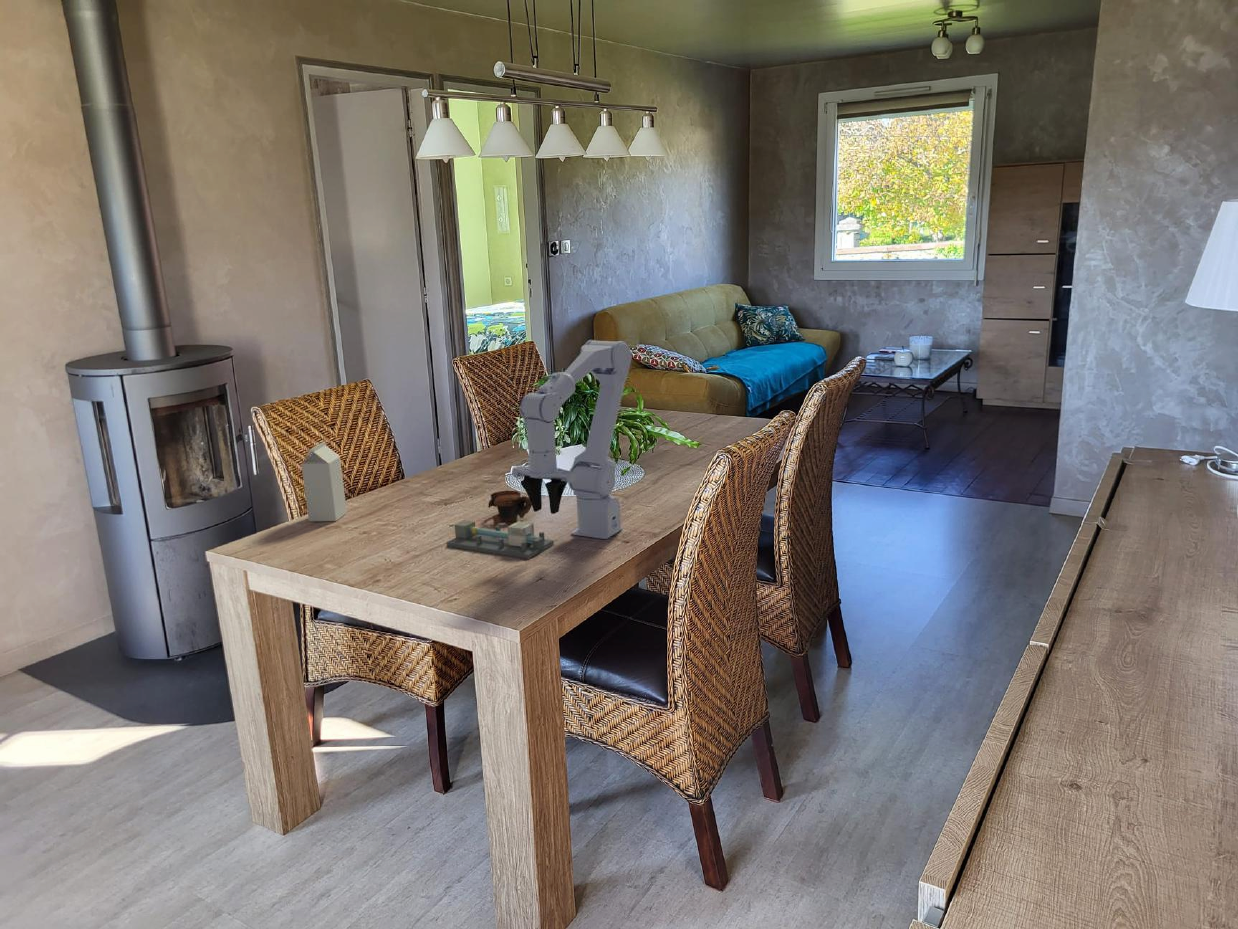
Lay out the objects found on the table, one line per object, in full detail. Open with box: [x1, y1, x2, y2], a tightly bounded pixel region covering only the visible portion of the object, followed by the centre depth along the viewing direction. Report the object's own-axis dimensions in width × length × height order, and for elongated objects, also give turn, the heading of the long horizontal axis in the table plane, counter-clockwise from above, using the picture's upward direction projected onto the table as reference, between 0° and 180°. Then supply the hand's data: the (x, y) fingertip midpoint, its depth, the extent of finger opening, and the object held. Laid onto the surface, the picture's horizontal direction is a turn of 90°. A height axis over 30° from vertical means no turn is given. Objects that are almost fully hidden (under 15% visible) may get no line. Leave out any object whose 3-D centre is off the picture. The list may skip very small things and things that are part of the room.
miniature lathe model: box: [446, 519, 555, 560], centre depth 204 cm, size 22×10×4 cm, turn 61°
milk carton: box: [300, 440, 348, 522], centre depth 229 cm, size 7×7×19 cm
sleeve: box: [507, 520, 535, 546], centre depth 201 cm, size 4×4×4 cm
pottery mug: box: [487, 490, 532, 525], centre depth 223 cm, size 12×10×8 cm
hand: (546, 511), depth 196 cm, fingers open, 4 cm apart
